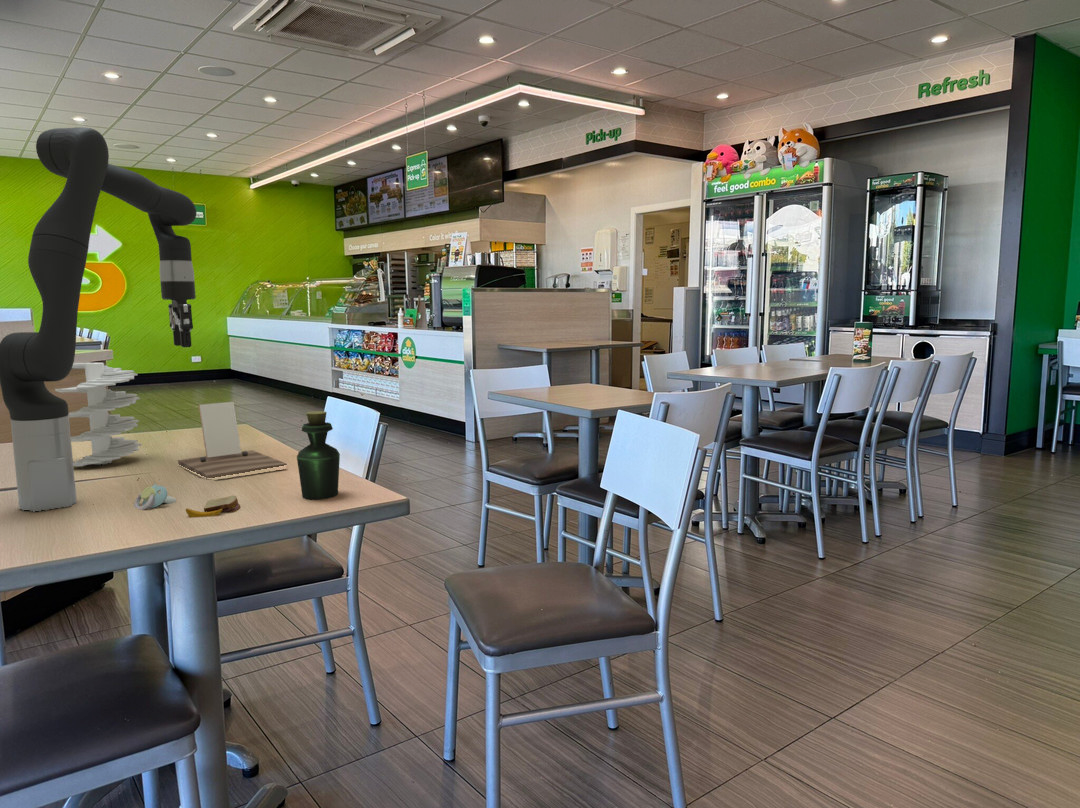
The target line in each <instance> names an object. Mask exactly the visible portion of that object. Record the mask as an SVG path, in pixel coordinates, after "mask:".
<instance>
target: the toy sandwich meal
mask: <svg viewBox="0 0 1080 808" xmlns="http://www.w3.org/2000/svg"><path fill="white" fill-rule="evenodd" d="M239 510H241V504H240V503H239V500H238V498H237V496H236V495H234V494H232V495H230V496H224V497H220V498H216V499H215V498H214V499H210V500H208V501H206V503H205V506H204V507H203V511H198V510H194V509H190V508H188V507H186V508H185V512H186V514H187V515H188V517H189V518H203V517H204V518H205V517H207V518H208V517H218V516H219V515H221V513H235V512H237V511H239Z"/></svg>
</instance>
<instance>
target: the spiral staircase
mask: <svg viewBox="0 0 1080 808" xmlns="http://www.w3.org/2000/svg"><path fill="white" fill-rule="evenodd" d="M72 369H75V370H76V369H83V370H84V371H85V374H84V375H85V382H79V384H77V385H76V386H71V387H65V388H55V390H54V391H55V392H58V393H61V394H62V393H64V394H65V393H79V394H80V393H81V394H82V393H83V394H86V395H87V406H84V407H81V408H80V409H79V410H75V411H71V412H70V411H69V414H68V415H69V418H88V419H89V429H90V431H89V430H87V431H83V433H80V434H79V435H75V436H71V443H73V442H74V443H75V442H76V443H78V442H91V452H92V453H91V454H90V455H85V456H83V457H82V458H81V459H78V460H75V461H74V460H73V467H85V466H87V465H94V466H95V465H97V466H99V465H100V466H101V464H102V465H108V463H109V464H111V462H112V463H113V461H114V460H120V459H121V458H122V457H126V456H129V455H131V454H133V453H134V452H137V451H138V452H139V451H140V450H139V447H140V446H141V447H142V443H140V442H139V443H138V439H125V437H124V436H122V437H121V436H119V437H117V436H116V435H121V434H122V432H128V431H130V430H133V429H134V428H135V427H136V428H137V427H139V426H138V425H139V424H137V423H140V420H139V419H135V416H121V414H119V413H117V414H110V413H109V412H111V411H116V409H121V408H124V407H130V406H131V405H132V404H133V405H134V404H136V402H137V400H141V398H140V397H138V394H137V393H126V392H127V391H125V390H123V391H121V390H120V391H114V390H111V389H110V388H108V389H107V387H110V386H116V384H118V383H119V384H120V383H125V382H130V380H135V376H138V373H135V370H129V369H127V370H126V369H125V370H124V369H123V370H122V367H109V365H105V364H104V362H89V361H88V362H75V363H73V366H72ZM72 369H71V370H72ZM113 436H116V437H113ZM134 454H135V453H134Z"/></svg>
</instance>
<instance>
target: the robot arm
mask: <svg viewBox="0 0 1080 808" xmlns="http://www.w3.org/2000/svg"><path fill="white" fill-rule="evenodd" d="M35 143H36V144H35V150H36V154H37V155H36V156H37V157H38V160H39V161H40V163H41V164H42V165H43V167H44V168H45V169H46V170H48V171H49V172H51V173H52V174H54V175H56V176H59V177H62V178H64V179H66V182H65V184H64V187H63V189H62V191H61V193H59V194H60V195H58V197H57V198H56V199H55V201H54V202H53V203H52V204H51V206H50V207H49V208H48V209H47V210H46V211H45V212H44V213H43V215H42V216H41V217H40V219H39V221H38V222H37V223H36V225H35V226H34V229H33V232H32V236H31V242H30V246H29V250H28V251H29V252H28V256H27V257H28V258H27V260H28V261H27V263H28V269H29V272H30V274H31V277H32V280H33V282H34V283H35V287H36V288H37V290H38V293H39V295H40V298H41V301H42V313H41V314H42V315H41V321H40V326H39V330H38V332H37V331H36V332H34V331H33V332H31V331H30V332H29V331H27V332H26V331H25V332H21V331H20V332H13V333H9V334H7V335H5V336H4V337H3V338H1V341H0V389H1V394H2V395H1V396H2V400H3V403H4V405H5V407H6V408H7V410H8V412H9V419H10V428H11V429H10V430H11V437H12V438H11V439H12V449H13V457H14V458H13V459H14V467H15V470H14V471H15V478H16V489H17V498H18V507H19V510H20V509H22V510H21V511H24V510H30V511H29V512H32V511H33V512H32V513H36V512H35V511H39V512H42V511H41V510H45V511H50V510H49V509H52V510H55V509H54V508H58V509H62V508H61V507H64V508H68V507H69V506H71V507H73V504H76V503H77V501H78V499H77V490H76V480H75V479H76V478H75V469H74V467H75V466H73V462H74V457H73V448H72V447H73V446H72V442H71V437H72V436H71V425H70V417H69V415H68V414H69V413H70V411H69V406H68V405H69V404H68V402H67V401H66V400H65V399H64V398H61V397H59V396H57V395H55V394H53V393H51V391H49V390H48V388H47V386H46V383H45V382H47V383H48V382H49V383H50V382H59V381H62V380H65V378H66V377H68V375H69V374H70V372H71V371H72V366H73V363H74V361H75V358H76V346H77V345H76V344H77V343H76V342H77V332H78V331H77V329H78V328H77V327H78V326H77V325H78V315H79V314H78V313H79V312H78V310H79V305H80V298H81V291H82V284H83V280H84V274H85V269H86V264H87V258H88V253H89V245H90V239H91V232H92V227H93V223H94V217H95V212H96V208H97V205H98V200H99V196H100V194H101V192H103V193H107V194H108V195H110V196H113V197H115V198H117V199H119V200H121V201H123V202H125V203H127V204H128V205H130V206H132V207H134V208H136V210H137V209H138V210H139V211H141V212H143V213H147V215H148V219H149V221H150V225H151V226H152V229H153V233H154V235H155V237H156V241H157V244H158V253H159V281H160V283H159V284H160V292H161V293H160V295H161V299H162V300H164V301H166V300H170V301H171V303H169V304H168V305H167V306H168V316H169V327H170V329H171V331H172V335H173V336H172V338H173V345H174V346H177V347H179V346H180V347H181V348H191V347H192V335H191V332H192V330H193V329H194V324H193V313H192V305H191V303H188V302H187V301H188V300H196V296H197V295H196V284H195V283H196V282H195V272H194V265H193V259H192V246H191V241H190V239H189V238H188V237H185V236H181V235H178V234H176V233H175V231H174V228H173V227H176V226H177V227H178V226H180V227H181V226H182V227H183V226H184V227H185V226H190V225H191V224H193V222H195V220H196V218H197V208H196V206H195V203H194V202H193V201H192V200H191V199H190V197H188V196H187V195H185V194H183V193H181V192H179V191H176V190H172V189H169V188H166V187H163V186H161V185H158V184H157V183H155V182H154V181H152V180H150V179H149V178H147V177H145V176H144V175H142V174H140V173H137V172H135V171H133V170H130V169H127V168H124V167H121V166H117V165H115V164H111V163H109V160H110V159H109V157H110V156H109V148H108V144H107V142H106V139H105V138H104V136H103V134H102V133H101V132H100V131H98V130H96V129H95V128H91V127H81V126H79V127H64V128H63V127H62V128H61V127H60V128H51V129H47V130H45V131H43V132H41V133H40V134H39V135H38V137H37V138H36V142H35Z"/></svg>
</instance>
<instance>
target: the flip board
mask: <svg viewBox="0 0 1080 808" xmlns="http://www.w3.org/2000/svg"><path fill="white" fill-rule="evenodd" d="M177 463H178V464H179V465H181V466H183V467H185V468H187V469H189V470H191V471H193V472H196V473H197V474H200V475H201V476H204V477H206V478H215V477H221V476H226V475H233V474H239V473H245V472H250V471H255V470H261V469H267V468H273V467H279V466H284V465H287V466H288V463H286V462H284V461H281V460H278V459H277V458H273V457H271V456H268V455H266V454H263V453H260V452H258V451H256V450H243V451H242V450H241V453H240V454H233V455H225V456H218V457H210V458H206V455H204V456H198V457H191V458H185V459H177Z"/></svg>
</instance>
